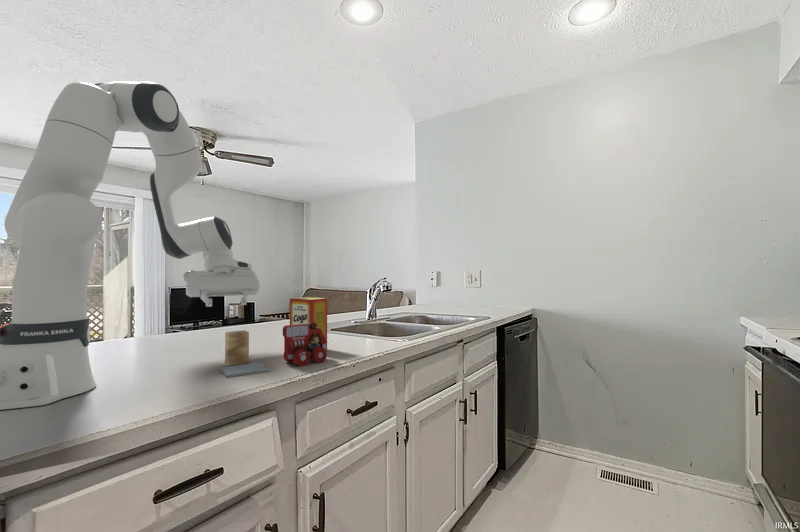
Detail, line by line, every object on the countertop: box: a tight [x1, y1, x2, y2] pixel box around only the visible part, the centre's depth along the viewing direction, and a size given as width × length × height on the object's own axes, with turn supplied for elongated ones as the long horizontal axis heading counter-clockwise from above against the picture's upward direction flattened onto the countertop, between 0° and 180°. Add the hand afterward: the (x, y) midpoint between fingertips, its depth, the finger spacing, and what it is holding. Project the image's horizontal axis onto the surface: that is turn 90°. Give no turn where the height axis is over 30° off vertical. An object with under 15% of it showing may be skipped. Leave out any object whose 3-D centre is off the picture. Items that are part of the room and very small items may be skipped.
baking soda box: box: [289, 296, 328, 345], centre depth 119 cm, size 10×6×16 cm
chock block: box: [224, 330, 250, 366], centre depth 102 cm, size 5×4×8 cm
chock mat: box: [220, 362, 269, 378], centre depth 93 cm, size 9×8×1 cm
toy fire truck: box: [282, 322, 328, 367], centre depth 102 cm, size 7×12×10 cm, turn 133°
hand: (227, 304), depth 112 cm, fingers open, 8 cm apart
